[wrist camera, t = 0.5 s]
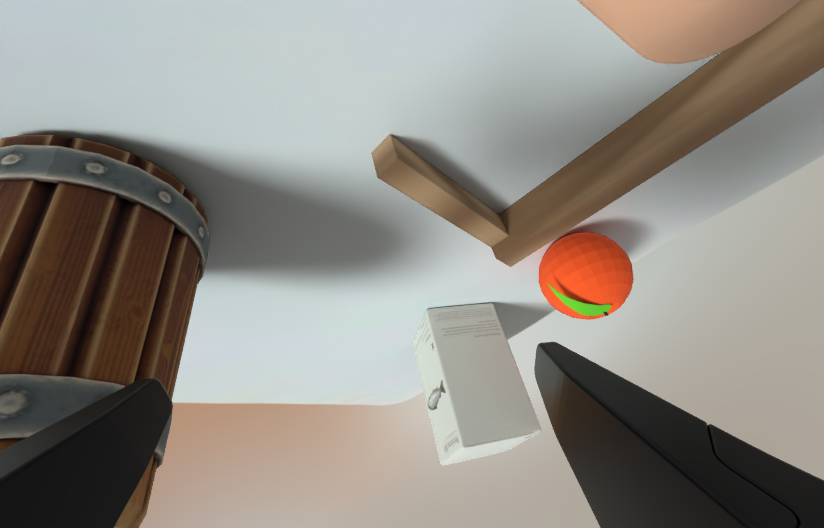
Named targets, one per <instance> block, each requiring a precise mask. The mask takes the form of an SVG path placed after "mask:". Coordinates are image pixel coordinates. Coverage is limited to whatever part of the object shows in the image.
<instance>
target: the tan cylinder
mask: <svg viewBox="0 0 824 528" xmlns="http://www.w3.org/2000/svg"><path fill="white" fill-rule="evenodd" d="M578 1H579V2H580V3H581V4H582V5H583V6H584V7H586V8H587V9H588V10H589V11H590V12H591V13H592V14H594V15H595V16H596V17H597V18H598V19H599V20H600V21H602V22H603V23H604V24H605V25H606V26H607V27H608V28H610V29H611V30H612V31H613V32H614V33H615V34H616V35H618V36H619V37H620V38H621V39H622V40H623V41H624V42H626V43H627V44H628V45H629V46H630V47H631V48H632V49H634V50H635V51H636V52H637V53H639V54H640V55H642V56H643V57H645V58H646V59H649V60H652V61H654V62H659V63H666V64H679V63H686V62H692V61H696V60H699V59H703V58H706V57H709V56H712V55H714V54H717V53H719V52H722V51H724V50H726V49H728V48H730V47H732V46H734V45H736V44H738V43H740V42H742V41H743V40H745V39H747V38H749V37H750V36H752V35H754V34H755V33H757V32H758V31H760V30H761V29H763V28H764V27H766V26H767V25H769V24H770V23H772V22H773V21H774V20H776V19H777V18H778V17H780V16H781V15H782V14H784V13H785V12H786V11H787V10H789V9H790V8H791V7H793V6H794V5H795V4H796V3H797V2H798V1H800V0H578Z"/></svg>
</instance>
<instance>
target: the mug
mask: <svg viewBox="0 0 824 528" xmlns="http://www.w3.org/2000/svg"><path fill="white" fill-rule="evenodd" d="M207 223H208V220H207V217H206V214H205V212H204V209H203V208H202V206H201V205H200V203H199V202H198V200H197V198H196V197H195V196H194V195H192V194H191V193H190V192H189V191H187V190H186V189H185V186H184V185H183V184H182V183H181V182H179V181H178V180H177V179H176V178H174V177H173V176H172V175H171V174H169V173H167V172H166V171H164V170H162V169H161V168H159V167H158V166H156V165H154V164H153V163H151V162H149V161H147V160H145V159H142V158H140V157H138V156H136V155H134V154H131V153H129V152H126V151H123V150H120V149H117V148H114V147H111V146H109V145H106V144H102V143H97V142H93V141H89V140H84V139H80V138H69V137H63V136H56V135H21V136H14V137H6V138H1V141H0V451H2V450H4V449H6V448H8V447H10V446H11V445H13V444H15V443H17V442H19V441H21V440H23V439H25V438H27V437H29V436H31V435H33V434H35V433H37V432H39V431H40V430H42V429H44V428H46V427H48V426H50V425H52V424H54V423H56V422H58V421H60V420H62V419H64V418H66V417H68V416H69V415H71V414H73V413H75V412H77V411H79V410H81V409H83V408H85V407H87V406H89V405H91V404H93V403H95V402H97V401H98V400H100V399H102V398H104V397H106V396H108V395H110V394H112V393H114V392H116V391H118V390H120V389H122V388H124V387H126V386H127V385H129V384H131V383H133V382H135V381H137V380H140V379H150V378H156V379H158V380H160V381H161V383H162V385H163V386H164V388H165V390H166V392H167V393H168V395H169V397H170V399H171V400H172V396H173V391H174V387H175V382H176V378H177V373H178V369H179V364H180V360H181V355H182V351H183V346H184V342H185V337H186V333H187V328H188V324H189V319H190V315H191V310H192V306H193V301H194V297H195V292H196V288H197V284H198V283H199V281H200V280H201V278H202V277H203V273H204V269H205V264H206V259H207V255H208V249H209V242H210V236H209V231H208V229H207ZM171 420H172V413H171V416H170V418H169V420H168V422H167V425H166V427H165V429H164V432H163V434H162V436H161V438H160V441H159V443H158V445H157V447H156V450H155V452H154V454H153V456H152V459H151V461H150V463H149V465H148V467H147V469H146V471H145V473H144V475H143V477H142V479H141V481H140V482H139V484H138V486H137V488H136V490H135V491H134V493H133V495H132V497H131V498H130V500H129V502H128V504H127V506H126V507H125V509H124V511H123V513H122V515H121V516H120V518H119V520H118V522H117V523H116V525H115V527H114V528H139V526H140V524H141V523H142V521H143V519H144V517H145V516H146V513H147V508H148V504H149V499H150V495H151V490H152V486H153V481H154V477H155V472H156V469H157V468H158V467H159V466H160V465H161V464H162V462H163V457H164V452H165V448H166V443H167V438H168V434H169V430H170V425H171Z"/></svg>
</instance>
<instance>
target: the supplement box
mask: <svg viewBox="0 0 824 528" xmlns="http://www.w3.org/2000/svg"><path fill="white" fill-rule="evenodd" d="M413 347H414V352H415V356H416V361H417V365H418V369H419V374H420V378H421V382H422V387H423V391H424V395H425V400H426V404H427V408H428V413H429V417H430V421H431V425H432V429H433V433H434V438H435V442H436V447H437V451H438V454H439V459H440V464H441V466H442V465H447V464H453V463H457V462H462V461H466V460H471V459H475V458H480V457H484V456H488V455H492V454H497V453H500V452H505V451H508V450H510V449H511V448H513V447H515V446H516V445H518V444H520V443H522V442H524V441H525V440H527V439H528V438H531V437H532V436H534V435H536V434H537V433H539V432H541V427H540V424H539V422H538V419H537V417H536V414H535V411H534V409H533V406H532V404H531V401H530V398H529V396H528V393H527V391H526V388H525V385H524V383H523V380H522V378H521V375H520V373H519V370H518V367H517V365H516V362H515V359H514V357H513V354H512V352H511V349H510V346H509V344H508V341H507V339H506V336H505V333H504V331H503V328H502V325H501V323H500V320H499V318H498V315H497V313H496V310H495V307H494V304H493V303H487V304H475V305H464V306H452V307H442V308H432V309H427V311H426V313H425V316H424V319H423V322H422V324H421V326H420V329H419V331H418V333H417V335H416V337H415V339H414V341H413Z"/></svg>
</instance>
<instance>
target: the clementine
mask: <svg viewBox="0 0 824 528" xmlns="http://www.w3.org/2000/svg"><path fill="white" fill-rule="evenodd" d="M632 283H633V271H632V264H631V262H630V260H629V257H628V255H627V254H626V253H625V251H624V250H623V249H622V248H621V247H620V246H619V245H618V244H617V243H616V242H614V241H613V240H611V239H609V238H608V237H606V236H602V235H599V234H595V233H588V232H584V233H575V234H571V235H568V236H565V237H563V238H561V239H559V240H558V241H556V242H555V243H554V244H553V245H552V246H551V247H550V248H549V249H548V250H547V252H546V253H545V254H544V256H543V258H542V260H541V263H540V266H539V284H540V287H541V290H542V293H543V294H544V296H545V297H546V299H547V300H548V302H549V303H550V304H551V305H552V306H553V307H554V308H555V309H557V310H558V311H560V312H562V313H564V314H566V315H569V316H571V317H573V318H581V319H596V318H600V317H603V316H606V315H608V314H610V313H612V312H614V311H615V310H617V309H618V308H619V307H620V306H621V305H622V304H623V303H624V302H625V300H626V298H627V297H628V295H629V293H630V291H631V288H632Z"/></svg>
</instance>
